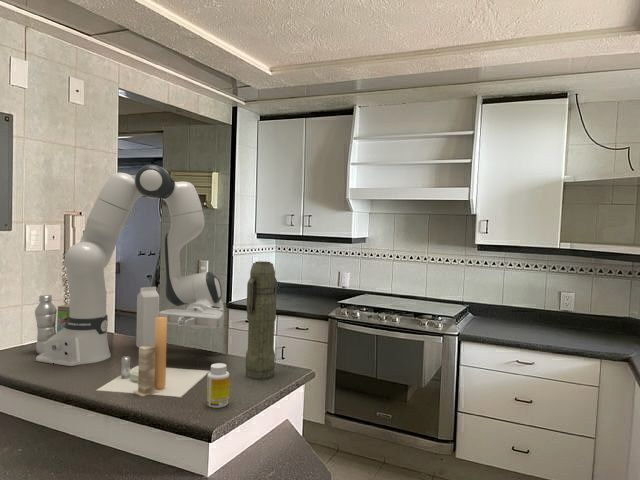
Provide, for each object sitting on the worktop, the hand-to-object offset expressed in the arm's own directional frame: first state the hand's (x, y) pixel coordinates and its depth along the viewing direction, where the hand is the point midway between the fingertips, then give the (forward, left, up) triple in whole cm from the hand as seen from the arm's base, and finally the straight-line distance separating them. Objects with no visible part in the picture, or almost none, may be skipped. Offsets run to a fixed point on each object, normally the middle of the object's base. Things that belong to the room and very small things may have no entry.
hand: (181, 323), depth 146 cm
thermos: (+24, +4, -16) cm, 29 cm away
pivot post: (-14, -7, -15) cm, 22 cm away
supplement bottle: (+19, -21, -16) cm, 32 cm away
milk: (-24, +27, -16) cm, 39 cm away
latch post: (-2, -17, -16) cm, 23 cm away
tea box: (-50, +27, -16) cm, 59 cm away
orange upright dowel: (-5, -12, -15) cm, 19 cm away
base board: (-4, -7, -16) cm, 18 cm away
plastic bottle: (-52, +11, -16) cm, 56 cm away
